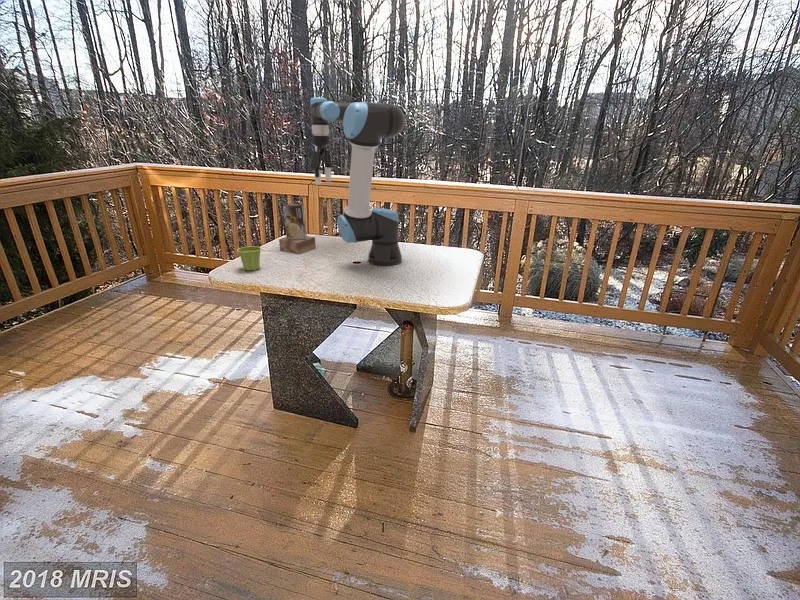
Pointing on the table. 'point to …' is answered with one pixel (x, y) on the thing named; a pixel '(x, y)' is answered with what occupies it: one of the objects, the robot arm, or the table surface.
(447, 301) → the table surface
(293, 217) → the coffee box
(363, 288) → the table surface
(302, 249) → the walnut block
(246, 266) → the plant pot
